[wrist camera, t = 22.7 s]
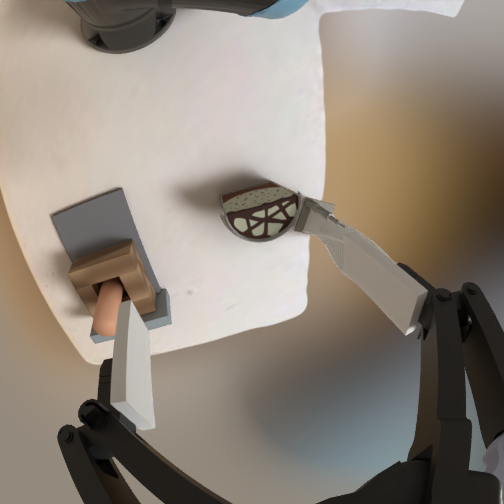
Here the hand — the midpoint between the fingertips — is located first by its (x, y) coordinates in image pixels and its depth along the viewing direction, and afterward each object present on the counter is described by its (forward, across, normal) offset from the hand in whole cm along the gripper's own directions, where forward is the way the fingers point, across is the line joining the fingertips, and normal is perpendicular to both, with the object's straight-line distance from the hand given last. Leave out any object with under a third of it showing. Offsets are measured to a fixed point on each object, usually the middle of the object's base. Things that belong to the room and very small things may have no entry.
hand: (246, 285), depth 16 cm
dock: (+32, -19, -10) cm, 38 cm away
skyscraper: (+32, +21, -15) cm, 41 cm away
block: (+30, -19, -14) cm, 38 cm away
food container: (+32, +8, -8) cm, 34 cm away
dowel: (+29, -19, -14) cm, 38 cm away
